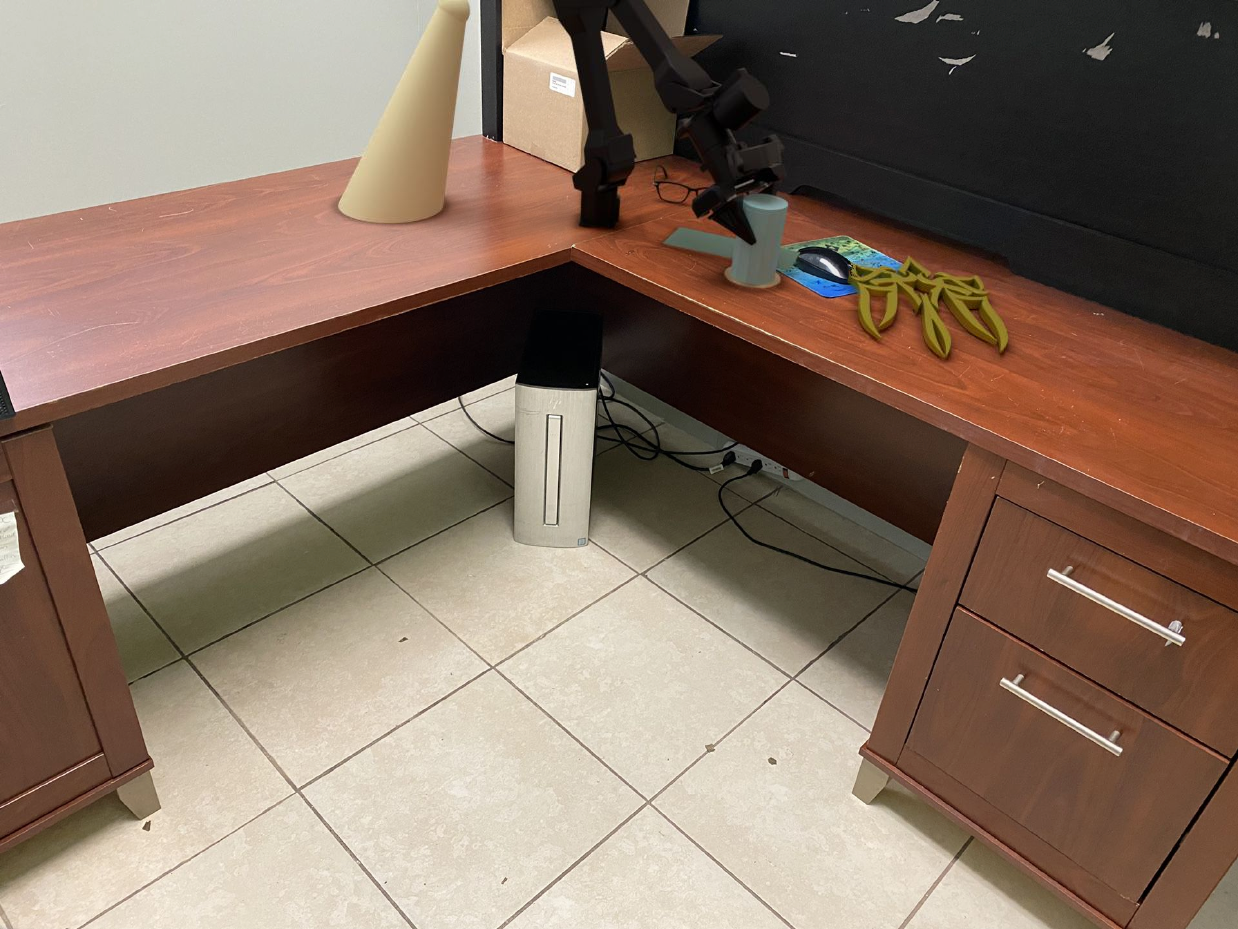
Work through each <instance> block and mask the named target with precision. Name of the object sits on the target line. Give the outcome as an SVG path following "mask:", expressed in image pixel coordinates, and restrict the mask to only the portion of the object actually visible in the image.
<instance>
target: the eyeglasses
mask: <svg viewBox="0 0 1238 929" xmlns="http://www.w3.org/2000/svg"><path fill="white" fill-rule="evenodd" d="M658 167H659V168H661V169H662V171H663V175H664V178H665V179H666V178H668V177H669V175H668V172H667V170H666V168H665V167H664V166H663V165H660V164H658V165H657V166H655V171H654V176H653V181H652V184H653V186H654V187H655V190H656V192H657V195H658V197H659V199H660V200H661V201H664V202H666V203H669V204H670V203H671V204H683V203H684V202H685V201H686V200H687V199H688V198H689V197H690V194H691V192H695V197H697V196H698V195H699V191H702V190H706V189H707V188H708V187H709V186H702V187H696V188H695V187H694V188H693V187H690V186H688V185H686V184H682V183H679V182H674V181H668V180H656V177H657V176H656V175H657V171H658V170H657V169H658ZM660 184H670V185H676V186H679V187H681V188H684V189H687V194H686V196H685V197H684V198H683V200H681V201H672V200H667V199H665V198H662V194H661V193H660Z"/></svg>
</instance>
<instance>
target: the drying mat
mask: <svg viewBox="0 0 1238 929" xmlns="http://www.w3.org/2000/svg"><path fill="white" fill-rule="evenodd" d="M735 241H736V237H729V236H725V235H721V234H715V233H712V232H711V233H710V232H705V231H701V230H698V229H697V230H696V229H692V228H687V227H683V226H678V228H677V229H676V230H675V231H674V232H673V233H672V234H670V236H669V237H668V238H666V239H665V240H664V241H663V242H662V244H664V245H668V246H673V247H677V248H681V249H686V250H690V251H695V252H699V253H705V254H709V255H714V256H719V257H722V258H727V259H731V260H733V254H734V248H735ZM800 255H801V252H800V251H798V250H797V251H796V250H791V249H787V248H783V247H780V253H779V258H778V263H777V269H778V270H783V271H788V272H789V271H790V270H791V268H792V267H793V265H794V263H795V262H796V261H797V259H798V258H799V256H800Z"/></svg>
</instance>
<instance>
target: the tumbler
mask: <svg viewBox="0 0 1238 929" xmlns="http://www.w3.org/2000/svg"><path fill="white" fill-rule="evenodd" d="M788 207H789V202H788V201H787V200H786V199H784V198H782V197H779V196H777V195H776V196H773V195H768V194H749V195H747V194H746V195H744V200H743V211H744V213H745V215H746V217H747V219H748V221H749V224H750V226H751V228H752V230H753V233H754V235H755V238H756V241H757V242H756V243H755V244H754V245H749V244H748V243H746V242H745V241H744V240H742V239H741V238H739V237H738V236H737V235H735V239H736V241H735V248H734V254H733V259H732V261H731V266H732V267H731V266H730V267H731V276H732V277H734V278H735V279H736V280H739V281H741V282H744V283H748V284H755V285H761V284H769V283H770V282H772V281H774V279H775V274H776V273H777V269H778V268H777V263H778V258H779V253H780V248H782V241H783V235H784V231H785V225H786V220H787V216H788V215H787V214H788Z"/></svg>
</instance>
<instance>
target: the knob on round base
mask: <svg viewBox="0 0 1238 929" xmlns="http://www.w3.org/2000/svg"><path fill="white" fill-rule="evenodd" d="M731 267H732V265H731V266H728V267H727V268H726V269H725V270H724V272H723V274H724V277H725V278H726V280H728V281H729V282H731V283H733V284H735V285H738V286H741V287H746V288H751V289H768V288H773V287H776V286H778V285H779V284H780V283H781V276H780V274H779V273H778V272H776V274H775V279H774V281H772V282H770V283H769V284H761V285H755V284H748V283H744V282H741V281H739V280H736V279H735V278H734V277H732V276H731Z"/></svg>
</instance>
